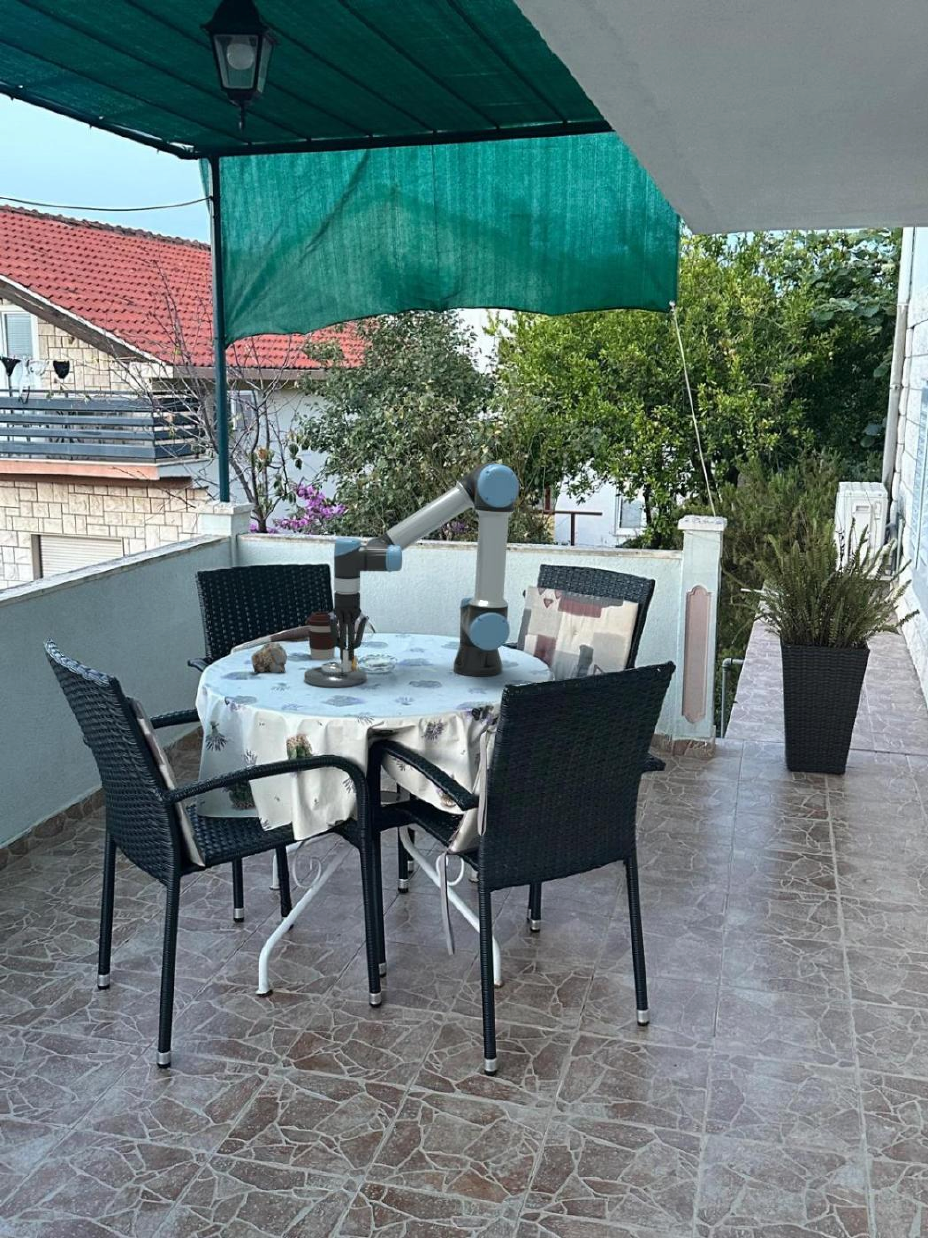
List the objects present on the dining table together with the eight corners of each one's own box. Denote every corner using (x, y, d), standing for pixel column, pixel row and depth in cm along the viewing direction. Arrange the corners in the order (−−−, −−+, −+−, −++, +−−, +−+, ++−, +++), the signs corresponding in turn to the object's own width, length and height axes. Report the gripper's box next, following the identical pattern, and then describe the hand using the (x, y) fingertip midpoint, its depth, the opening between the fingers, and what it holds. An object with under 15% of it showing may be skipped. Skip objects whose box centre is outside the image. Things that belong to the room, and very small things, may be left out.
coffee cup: (332, 664, 364) (332, 617, 361) (302, 662, 366) (302, 615, 363) (342, 657, 374) (342, 611, 371) (312, 655, 375) (312, 609, 372)
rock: (268, 677, 358) (246, 654, 355) (297, 654, 356) (275, 631, 353) (267, 688, 349) (244, 664, 346) (296, 665, 348) (274, 641, 345)
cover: (349, 671, 344) (349, 661, 343) (340, 677, 337) (340, 666, 337) (327, 669, 346) (327, 659, 345) (318, 675, 339) (318, 664, 339)
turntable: (378, 673, 350) (378, 657, 349) (352, 690, 331) (352, 673, 330) (323, 668, 355) (323, 652, 354) (294, 684, 336) (294, 667, 335)
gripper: (373, 591, 337) (372, 670, 342) (331, 588, 341) (331, 666, 346) (363, 595, 330) (363, 676, 335) (321, 592, 334) (321, 672, 338)
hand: (347, 671), depth 340 cm, fingers closed
